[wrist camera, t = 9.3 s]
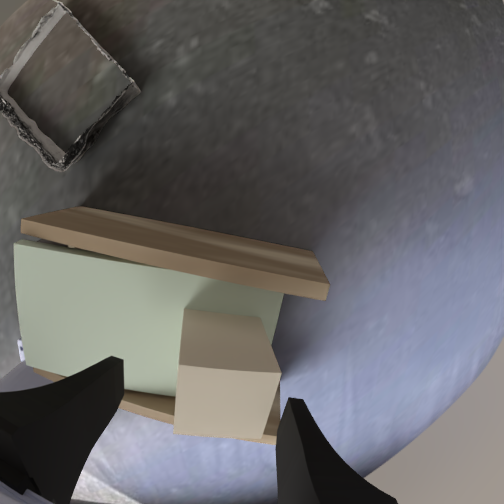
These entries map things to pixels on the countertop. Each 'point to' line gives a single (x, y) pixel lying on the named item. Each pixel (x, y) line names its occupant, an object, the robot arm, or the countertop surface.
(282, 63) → the countertop surface
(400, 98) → the countertop surface
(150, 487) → the countertop surface
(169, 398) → the trapdoor frame
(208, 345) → the beige cube
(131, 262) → the trapdoor
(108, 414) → the robot arm
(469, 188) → the countertop surface
